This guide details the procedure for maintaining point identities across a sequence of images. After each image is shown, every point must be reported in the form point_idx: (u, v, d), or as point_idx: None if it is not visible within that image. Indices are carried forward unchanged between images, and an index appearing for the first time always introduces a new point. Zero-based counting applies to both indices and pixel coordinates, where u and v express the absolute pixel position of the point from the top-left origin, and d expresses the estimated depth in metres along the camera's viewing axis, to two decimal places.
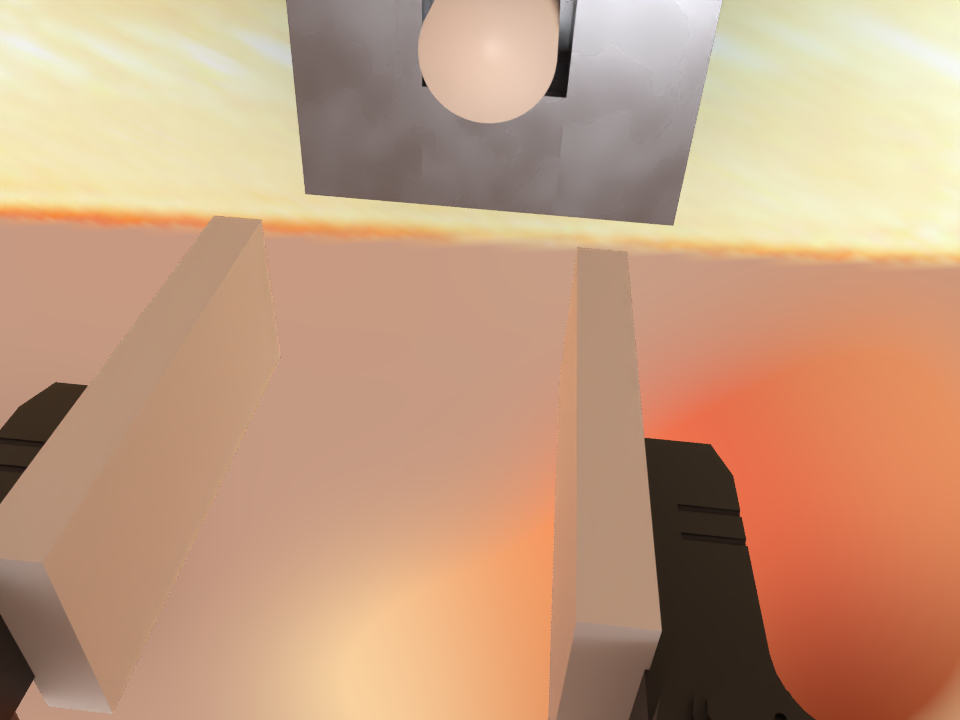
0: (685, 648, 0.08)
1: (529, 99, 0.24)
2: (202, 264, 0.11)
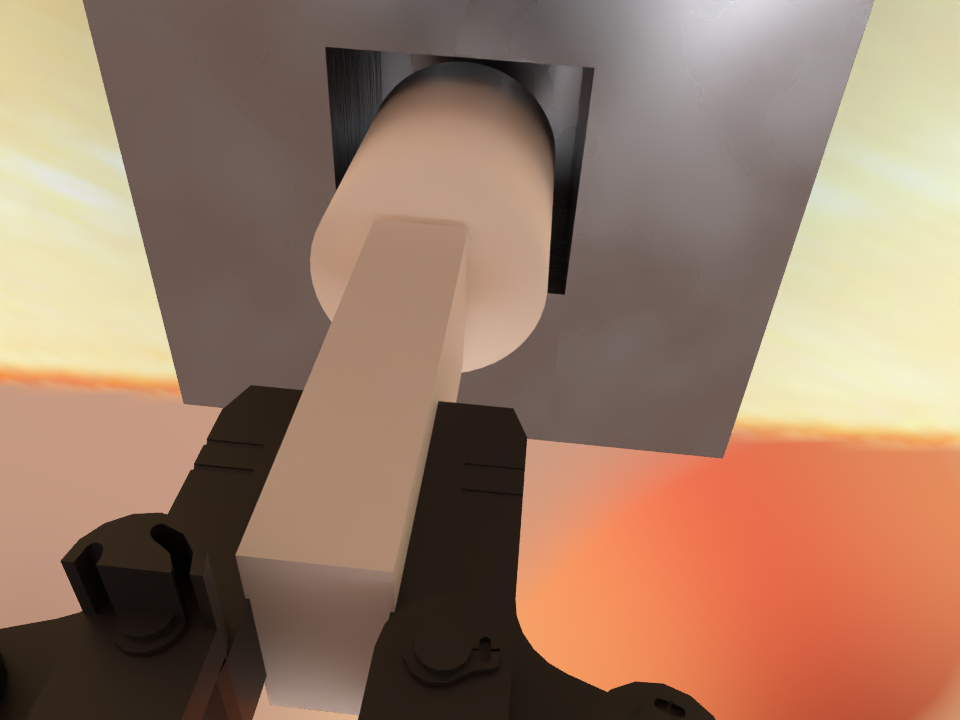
0: (435, 593, 0.08)
1: (501, 344, 0.14)
2: (378, 268, 0.11)
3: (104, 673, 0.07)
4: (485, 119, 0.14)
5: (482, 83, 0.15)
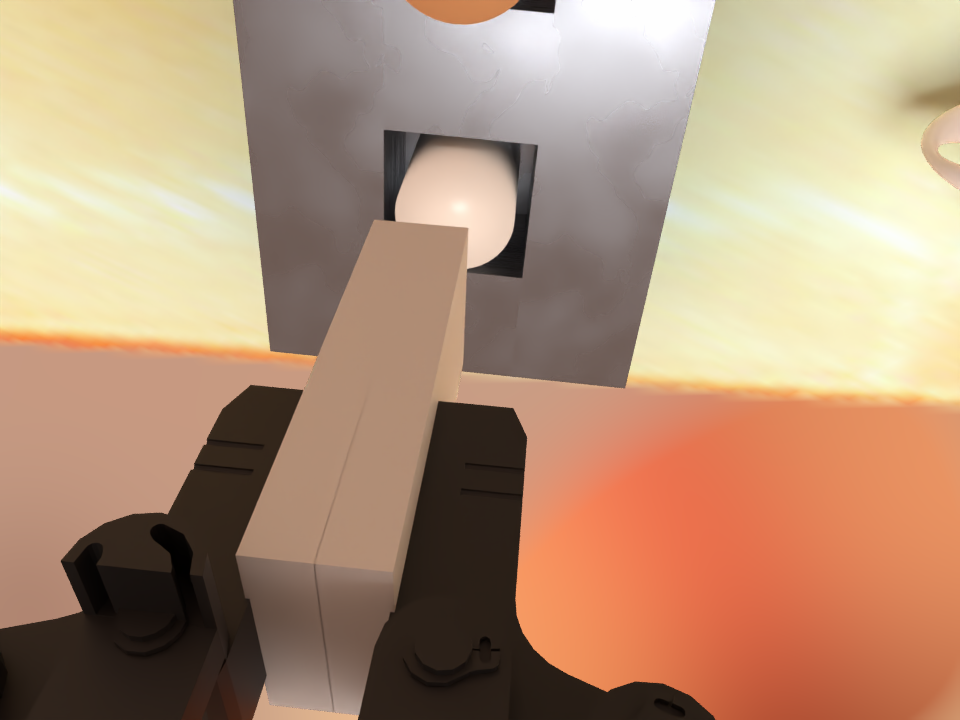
0: (435, 593, 0.08)
1: (490, 252, 0.28)
2: (377, 268, 0.11)
3: (104, 673, 0.07)
4: None
5: None
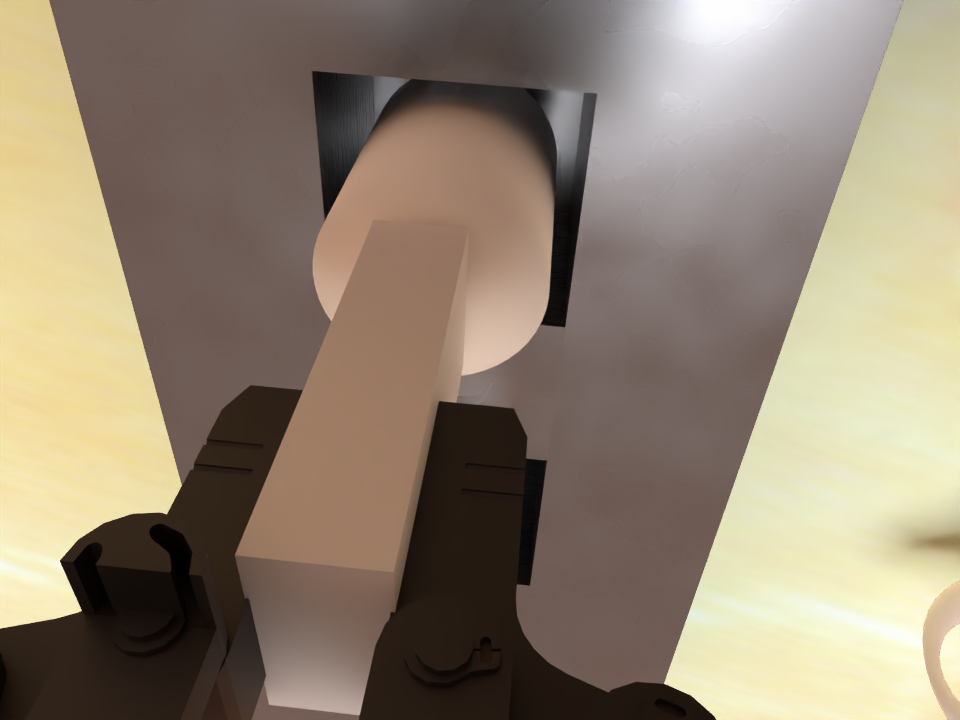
0: (436, 593, 0.08)
1: None
2: (377, 268, 0.11)
3: (104, 673, 0.07)
4: None
5: None
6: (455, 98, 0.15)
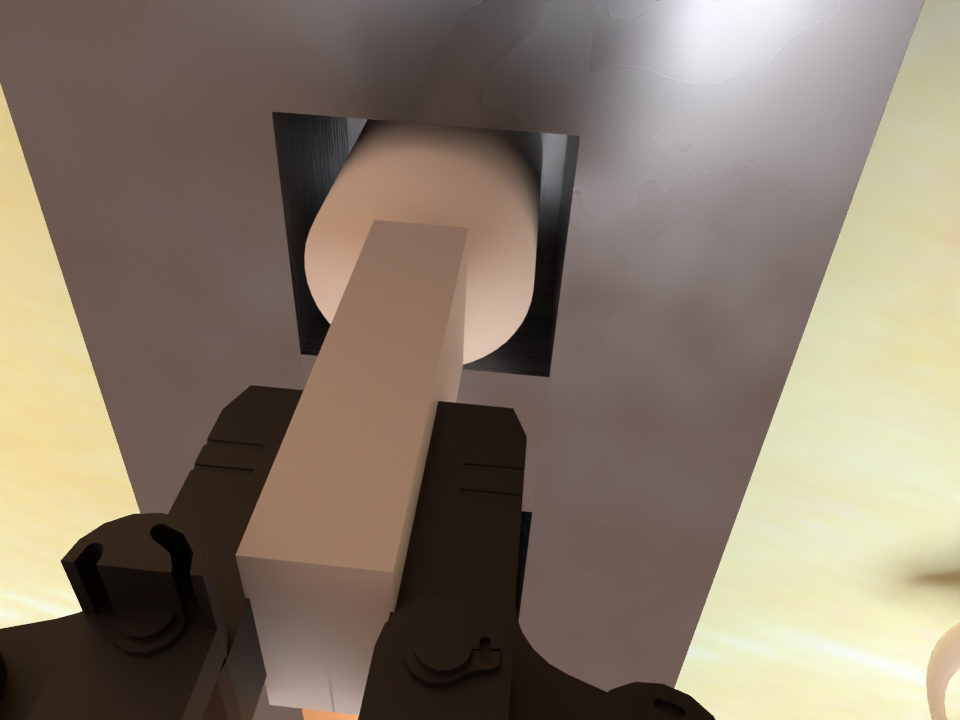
0: (435, 593, 0.08)
1: None
2: (377, 268, 0.11)
3: (104, 672, 0.07)
4: None
5: None
6: None
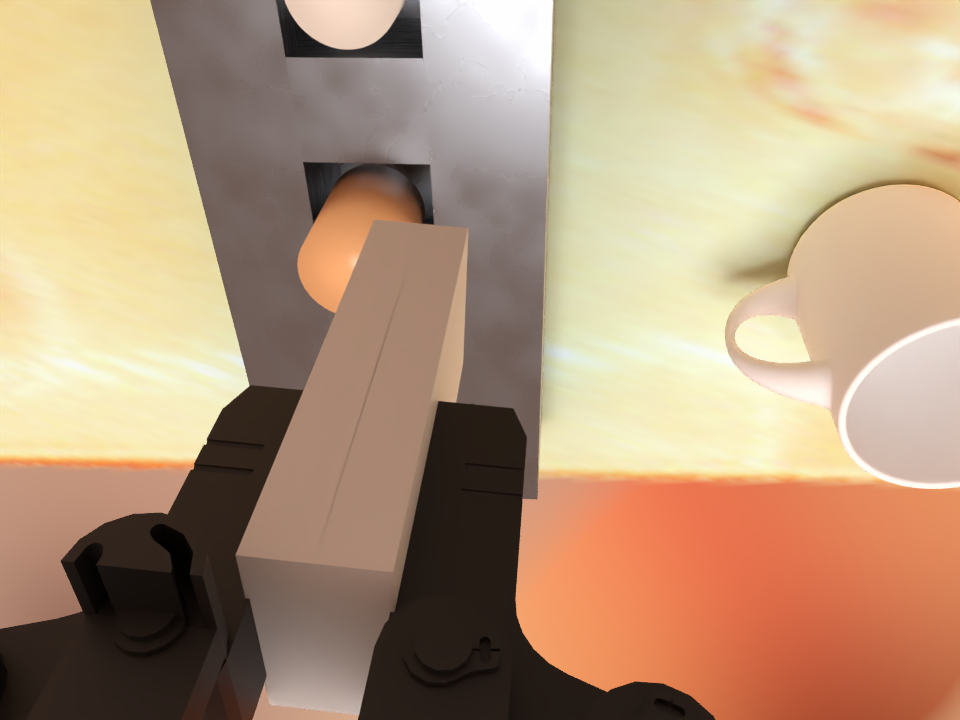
0: (435, 593, 0.08)
1: None
2: (377, 267, 0.11)
3: (104, 673, 0.07)
4: None
5: None
6: None
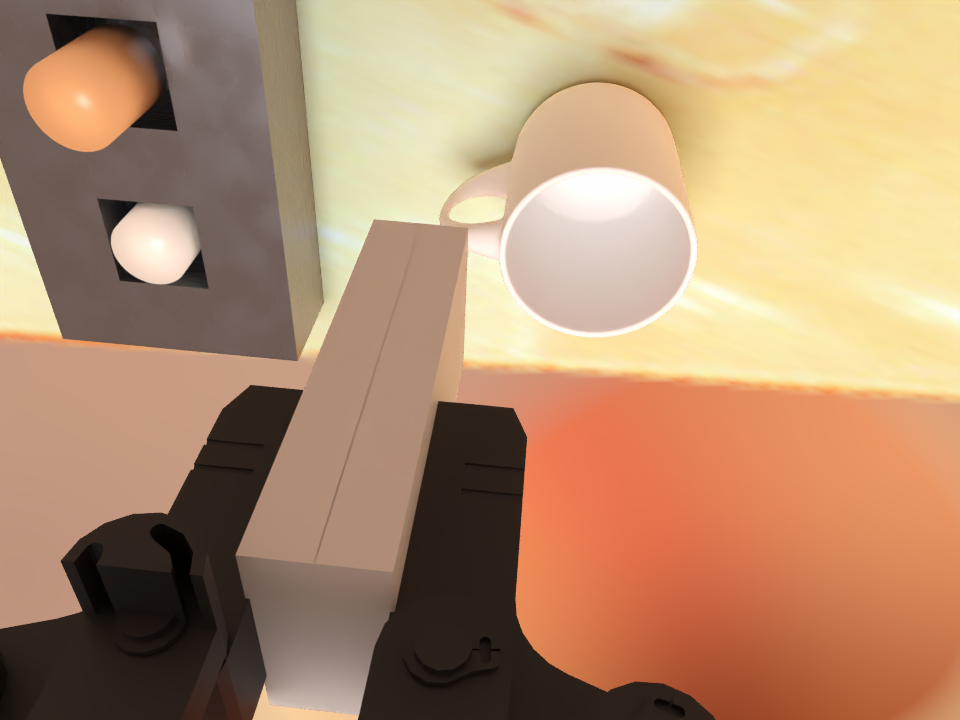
0: (435, 593, 0.08)
1: (177, 273, 0.43)
2: (377, 268, 0.12)
3: (104, 673, 0.07)
4: None
5: None
6: None
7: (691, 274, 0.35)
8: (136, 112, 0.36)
